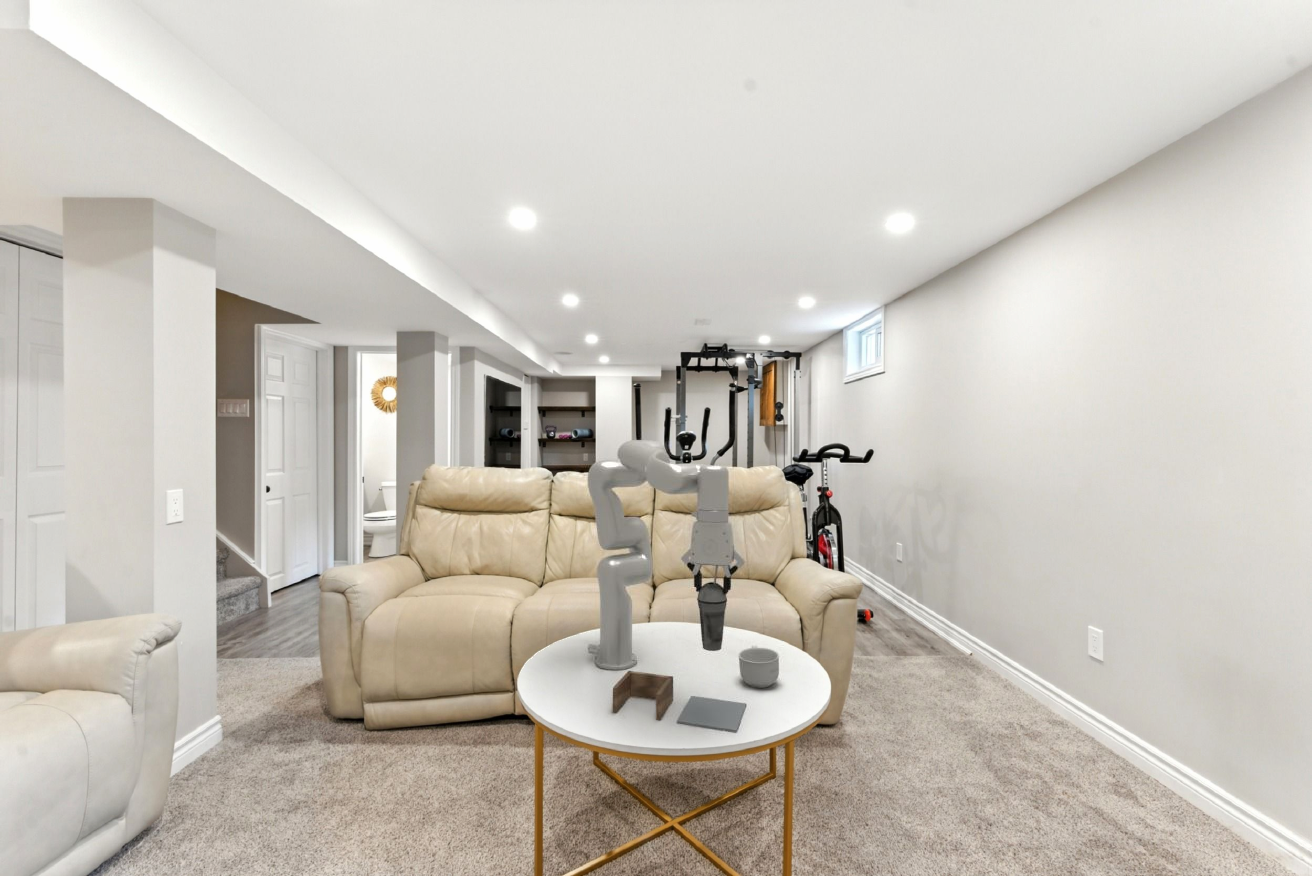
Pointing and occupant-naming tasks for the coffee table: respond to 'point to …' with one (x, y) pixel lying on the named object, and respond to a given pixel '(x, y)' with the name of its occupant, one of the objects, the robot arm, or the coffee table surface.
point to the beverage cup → (712, 614)
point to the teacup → (759, 666)
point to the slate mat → (712, 713)
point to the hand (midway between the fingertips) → (712, 590)
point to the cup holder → (644, 690)
